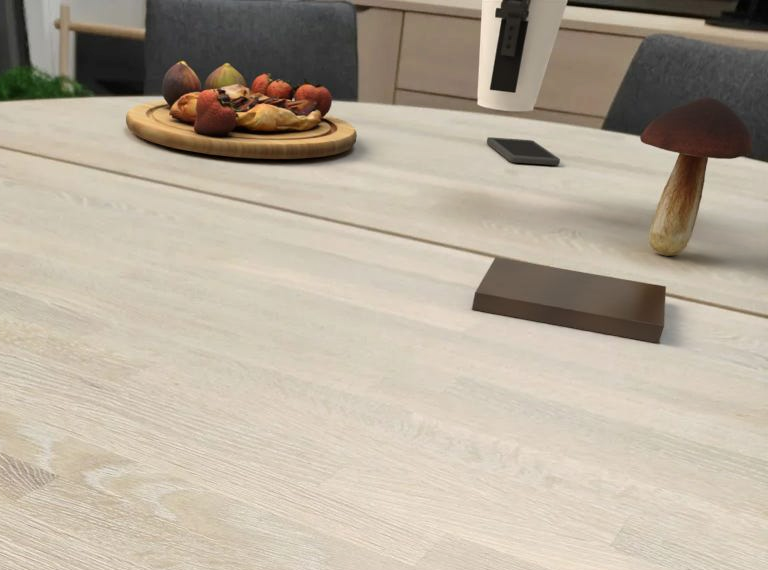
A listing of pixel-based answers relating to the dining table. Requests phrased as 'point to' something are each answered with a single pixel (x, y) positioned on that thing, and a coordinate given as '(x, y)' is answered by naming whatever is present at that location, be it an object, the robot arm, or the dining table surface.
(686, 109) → the decorative mushroom
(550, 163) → the cell phone
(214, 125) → the wooden plate
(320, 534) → the dining table surface
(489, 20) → the foam cup
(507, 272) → the walnut board
